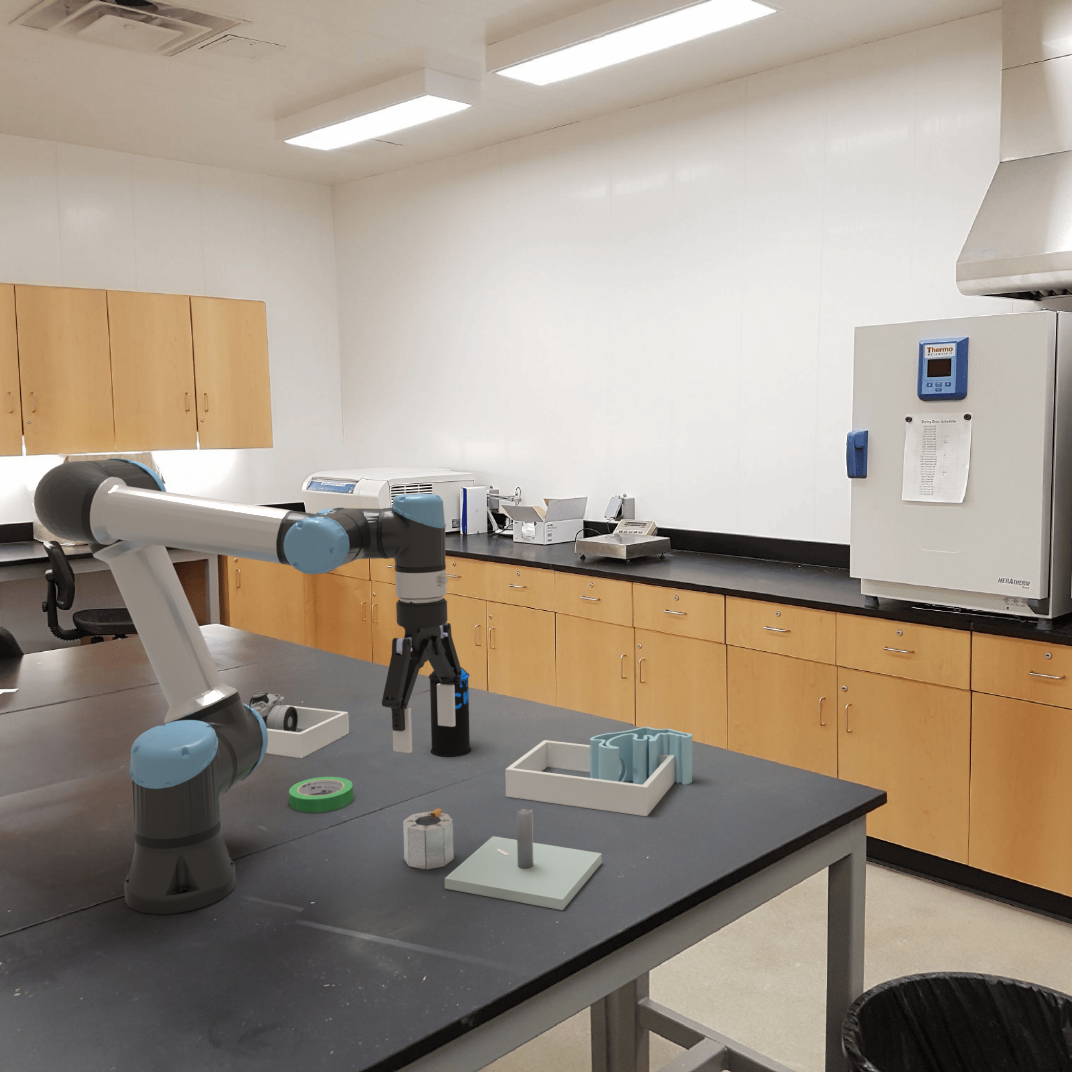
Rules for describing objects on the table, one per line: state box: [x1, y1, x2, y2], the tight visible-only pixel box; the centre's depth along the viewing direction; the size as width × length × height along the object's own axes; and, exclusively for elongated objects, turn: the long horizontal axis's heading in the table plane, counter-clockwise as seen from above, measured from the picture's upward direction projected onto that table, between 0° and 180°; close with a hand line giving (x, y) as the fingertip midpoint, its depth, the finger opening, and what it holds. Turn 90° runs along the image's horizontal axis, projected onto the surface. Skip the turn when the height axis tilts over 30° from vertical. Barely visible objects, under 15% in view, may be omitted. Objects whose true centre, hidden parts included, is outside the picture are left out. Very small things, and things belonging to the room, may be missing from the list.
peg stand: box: [444, 808, 603, 911], centre depth 146 cm, size 16×18×10 cm
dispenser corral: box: [505, 739, 676, 817], centre depth 181 cm, size 18×26×5 cm
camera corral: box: [265, 704, 350, 759], centre depth 213 cm, size 17×24×5 cm
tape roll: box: [288, 776, 354, 814], centre depth 178 cm, size 11×11×3 cm
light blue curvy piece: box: [589, 726, 693, 786], centre depth 183 cm, size 18×10×9 cm, turn 121°
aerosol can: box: [428, 667, 472, 758], centre depth 203 cm, size 8×8×20 cm
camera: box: [248, 691, 298, 732], centre depth 213 cm, size 16×9×10 cm, turn 168°
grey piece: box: [402, 808, 455, 870], centre depth 153 cm, size 7×7×7 cm
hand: (425, 738), depth 151 cm, fingers open, 13 cm apart
